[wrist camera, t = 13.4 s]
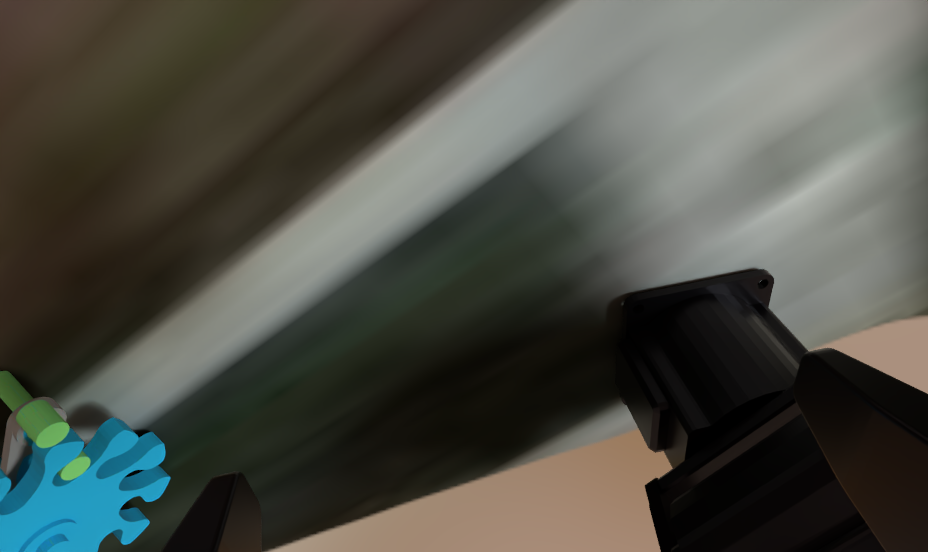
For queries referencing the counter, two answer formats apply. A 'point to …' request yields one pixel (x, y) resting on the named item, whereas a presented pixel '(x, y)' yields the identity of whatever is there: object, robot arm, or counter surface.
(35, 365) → the counter surface
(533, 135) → the counter surface
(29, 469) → the gear
